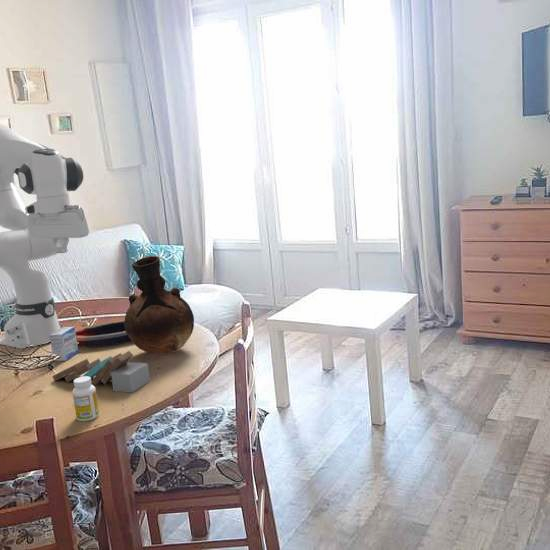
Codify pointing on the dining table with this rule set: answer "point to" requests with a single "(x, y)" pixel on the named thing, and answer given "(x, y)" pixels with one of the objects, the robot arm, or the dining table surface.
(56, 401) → the dining table surface
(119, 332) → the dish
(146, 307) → the ceramic vessel
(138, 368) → the end block
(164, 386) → the dining table surface
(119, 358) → the domino
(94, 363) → the domino
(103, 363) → the domino
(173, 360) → the dining table surface
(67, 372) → the domino
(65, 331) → the medicine box
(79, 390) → the supplement bottle
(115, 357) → the domino
